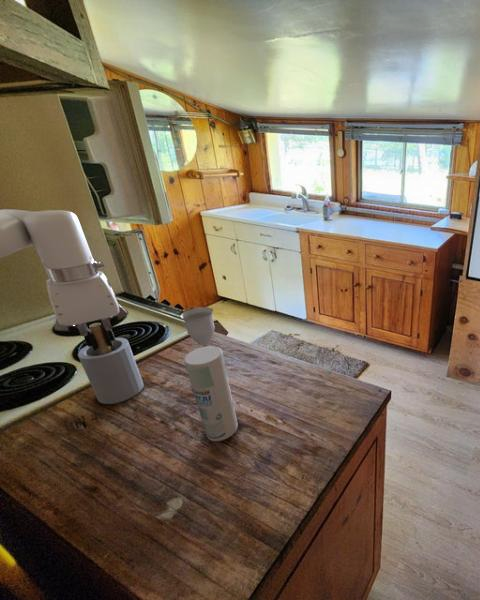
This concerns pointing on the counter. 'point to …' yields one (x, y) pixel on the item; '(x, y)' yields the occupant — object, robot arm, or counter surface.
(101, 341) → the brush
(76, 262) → the robot arm
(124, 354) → the cup
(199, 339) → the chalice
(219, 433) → the spray can
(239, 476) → the counter surface
